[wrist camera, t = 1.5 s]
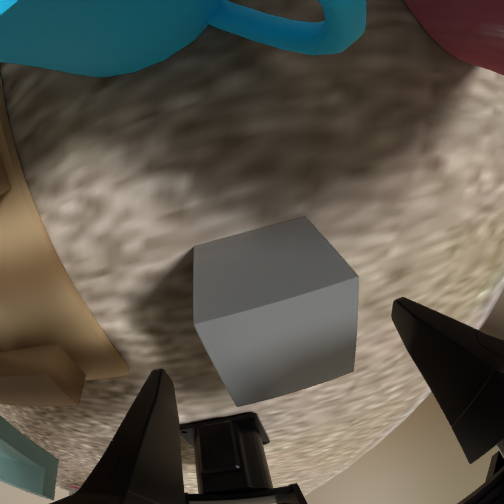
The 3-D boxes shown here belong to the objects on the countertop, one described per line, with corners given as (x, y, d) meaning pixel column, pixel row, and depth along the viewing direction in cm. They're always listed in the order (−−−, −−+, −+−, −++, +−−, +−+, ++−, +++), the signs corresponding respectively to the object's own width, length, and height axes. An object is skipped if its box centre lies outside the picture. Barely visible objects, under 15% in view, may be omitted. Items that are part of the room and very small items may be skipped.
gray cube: (314, 301, 15) (353, 371, 10) (224, 327, 15) (236, 407, 10) (304, 215, 12) (358, 276, 8) (193, 245, 12) (193, 324, 8)
